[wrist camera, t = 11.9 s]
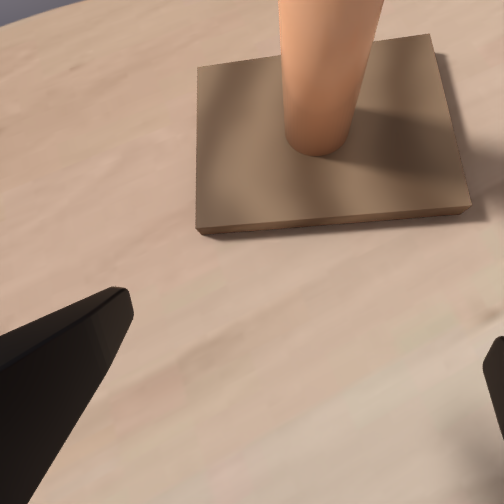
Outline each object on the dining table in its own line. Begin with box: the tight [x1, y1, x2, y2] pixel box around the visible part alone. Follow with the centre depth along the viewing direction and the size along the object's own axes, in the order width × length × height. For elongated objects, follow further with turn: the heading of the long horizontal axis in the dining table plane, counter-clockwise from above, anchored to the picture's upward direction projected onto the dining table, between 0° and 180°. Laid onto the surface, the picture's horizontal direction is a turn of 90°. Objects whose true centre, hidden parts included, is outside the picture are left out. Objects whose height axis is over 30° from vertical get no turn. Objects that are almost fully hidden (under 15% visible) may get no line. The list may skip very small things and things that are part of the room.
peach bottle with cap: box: [278, 0, 384, 156], centre depth 16 cm, size 5×5×14 cm
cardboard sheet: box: [195, 34, 472, 235], centre depth 23 cm, size 18×14×2 cm
